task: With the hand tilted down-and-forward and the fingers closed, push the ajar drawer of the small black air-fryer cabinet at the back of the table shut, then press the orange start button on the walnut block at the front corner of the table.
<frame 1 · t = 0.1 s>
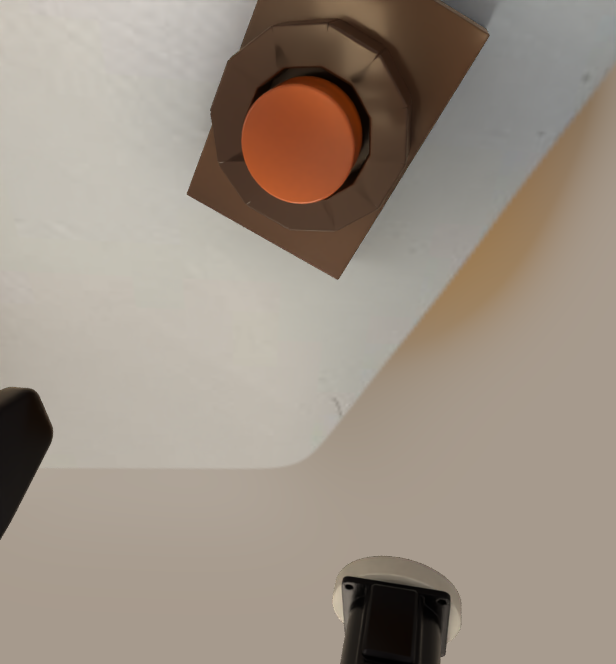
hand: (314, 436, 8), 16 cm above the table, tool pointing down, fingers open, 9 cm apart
start button: (303, 141, 17), point 4 cm above the table, slide at 0.1 cm
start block: (329, 112, 21), on the table
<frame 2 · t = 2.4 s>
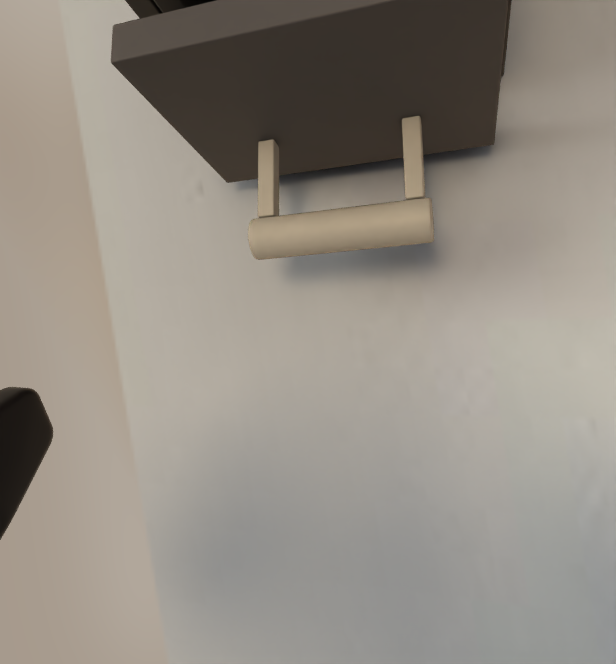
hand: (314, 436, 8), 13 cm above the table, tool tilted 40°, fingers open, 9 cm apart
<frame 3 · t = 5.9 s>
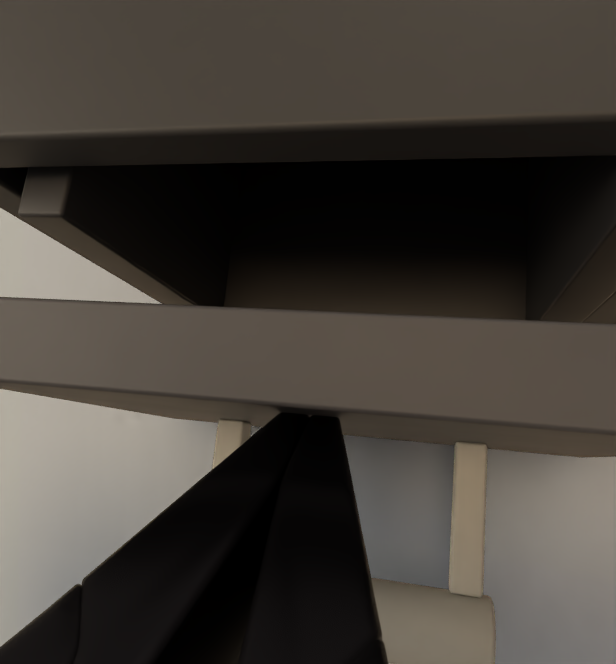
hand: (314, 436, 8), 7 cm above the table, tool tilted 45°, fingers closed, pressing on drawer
fryer: (395, 41, 17), on the table
drawer: (364, 108, 12), point 5 cm above the table, slide at 1.9 cm, touching gripper
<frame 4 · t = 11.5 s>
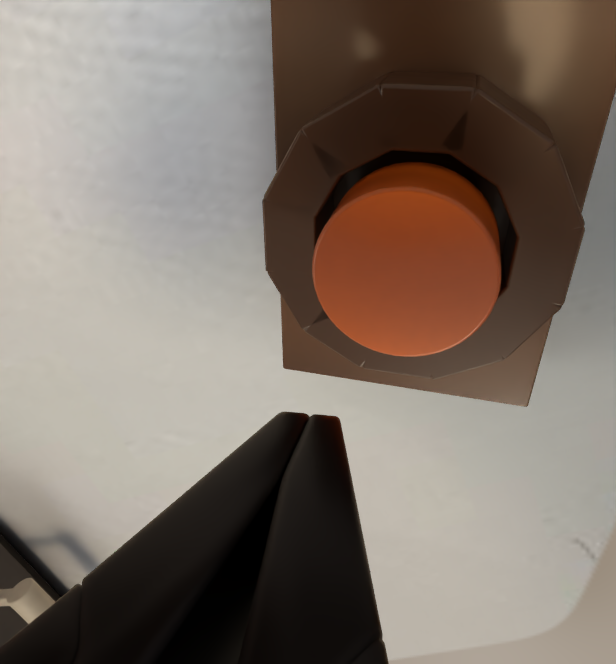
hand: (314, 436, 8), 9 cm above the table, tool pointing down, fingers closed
start button: (406, 261, 11), point 4 cm above the table, slide at 0.1 cm
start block: (425, 192, 15), on the table
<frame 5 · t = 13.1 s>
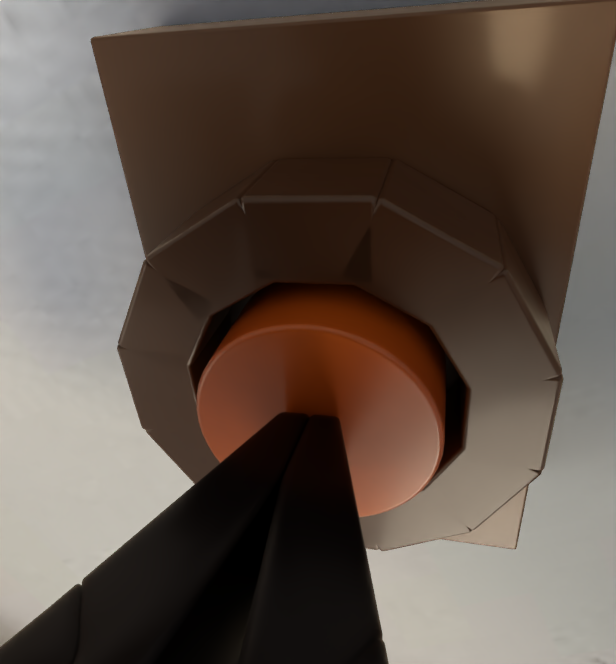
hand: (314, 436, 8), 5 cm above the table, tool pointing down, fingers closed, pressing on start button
start button: (325, 395, 8), point 4 cm above the table, slide at -0.7 cm, touching gripper
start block: (360, 285, 11), on the table
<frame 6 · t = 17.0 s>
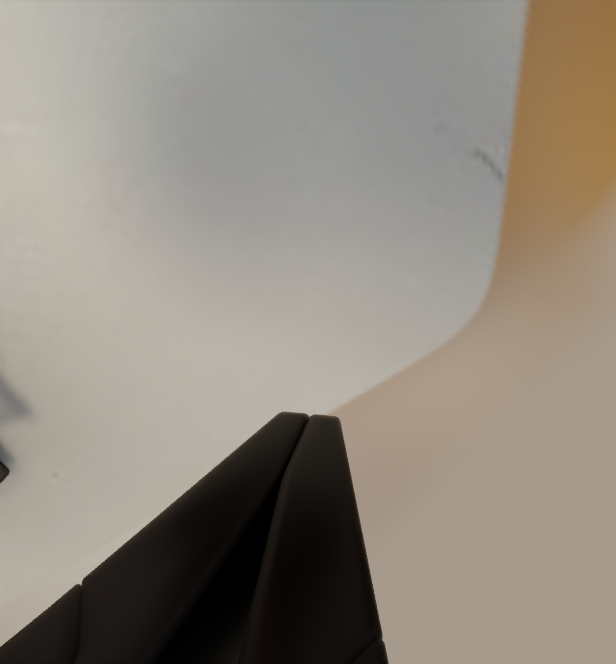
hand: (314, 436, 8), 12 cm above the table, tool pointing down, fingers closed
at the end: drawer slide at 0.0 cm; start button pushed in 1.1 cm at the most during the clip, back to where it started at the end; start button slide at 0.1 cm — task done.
